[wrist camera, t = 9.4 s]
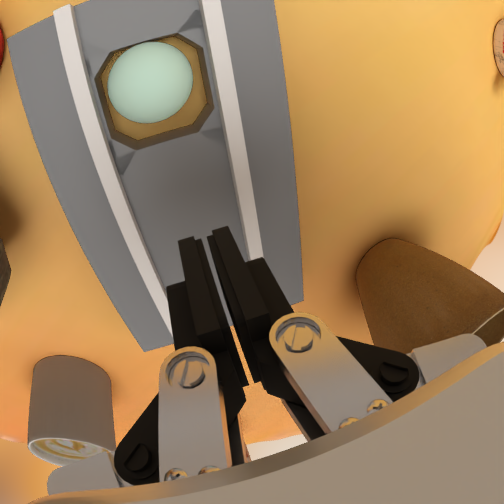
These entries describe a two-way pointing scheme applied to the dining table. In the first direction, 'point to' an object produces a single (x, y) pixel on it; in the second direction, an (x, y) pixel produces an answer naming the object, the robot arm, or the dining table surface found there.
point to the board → (165, 148)
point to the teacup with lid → (499, 45)
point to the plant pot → (424, 298)
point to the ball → (150, 82)
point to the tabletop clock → (3, 271)
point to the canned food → (1, 46)
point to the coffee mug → (70, 410)
